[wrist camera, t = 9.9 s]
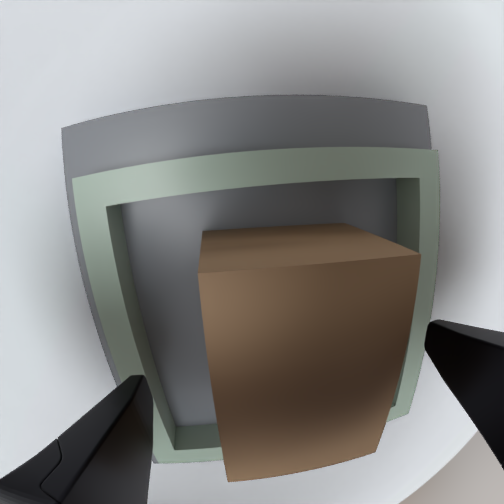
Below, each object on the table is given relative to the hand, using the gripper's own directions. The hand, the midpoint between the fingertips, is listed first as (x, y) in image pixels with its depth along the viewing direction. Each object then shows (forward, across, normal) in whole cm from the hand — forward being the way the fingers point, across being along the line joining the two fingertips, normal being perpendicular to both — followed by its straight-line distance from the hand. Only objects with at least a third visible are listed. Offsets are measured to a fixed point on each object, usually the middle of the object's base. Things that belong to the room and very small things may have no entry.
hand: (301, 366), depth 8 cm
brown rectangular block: (+3, 0, 0) cm, 3 cm away
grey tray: (+4, 0, 0) cm, 4 cm away
